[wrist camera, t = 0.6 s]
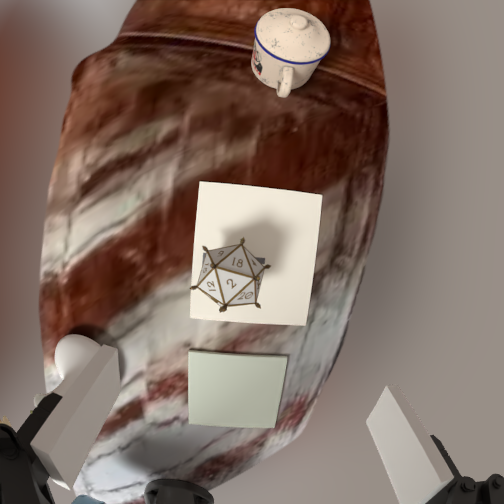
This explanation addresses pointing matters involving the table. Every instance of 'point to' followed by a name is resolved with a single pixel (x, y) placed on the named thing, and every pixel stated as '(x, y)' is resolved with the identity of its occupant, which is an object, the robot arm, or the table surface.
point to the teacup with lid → (288, 48)
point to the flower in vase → (69, 363)
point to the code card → (260, 248)
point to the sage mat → (234, 389)
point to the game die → (231, 276)
